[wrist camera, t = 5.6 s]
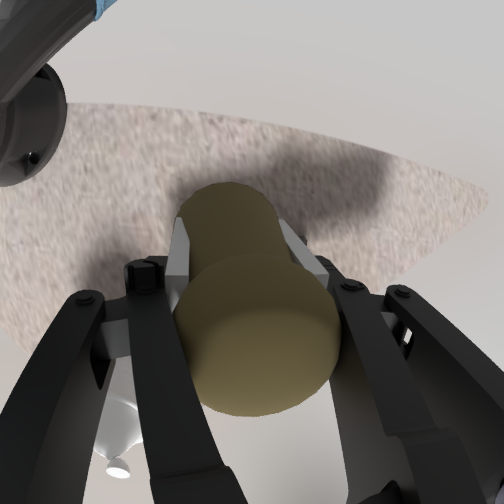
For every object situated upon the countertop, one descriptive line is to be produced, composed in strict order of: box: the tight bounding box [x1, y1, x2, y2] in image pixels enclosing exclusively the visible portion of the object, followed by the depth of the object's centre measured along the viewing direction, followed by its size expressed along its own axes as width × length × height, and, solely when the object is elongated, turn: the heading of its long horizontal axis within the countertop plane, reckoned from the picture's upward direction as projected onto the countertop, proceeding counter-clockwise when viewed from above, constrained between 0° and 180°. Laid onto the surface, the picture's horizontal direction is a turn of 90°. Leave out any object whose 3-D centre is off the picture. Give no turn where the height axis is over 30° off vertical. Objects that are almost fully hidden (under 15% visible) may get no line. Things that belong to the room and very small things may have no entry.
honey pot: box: [93, 356, 143, 478], centre depth 32 cm, size 13×13×18 cm
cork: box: [172, 182, 342, 417], centre depth 13 cm, size 6×6×11 cm
